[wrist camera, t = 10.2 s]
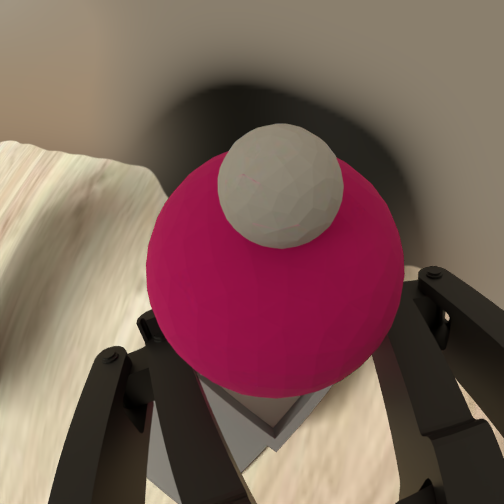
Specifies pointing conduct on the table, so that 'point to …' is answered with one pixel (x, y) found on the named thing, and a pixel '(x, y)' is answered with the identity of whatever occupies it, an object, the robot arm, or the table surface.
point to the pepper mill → (275, 266)
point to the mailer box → (236, 428)
